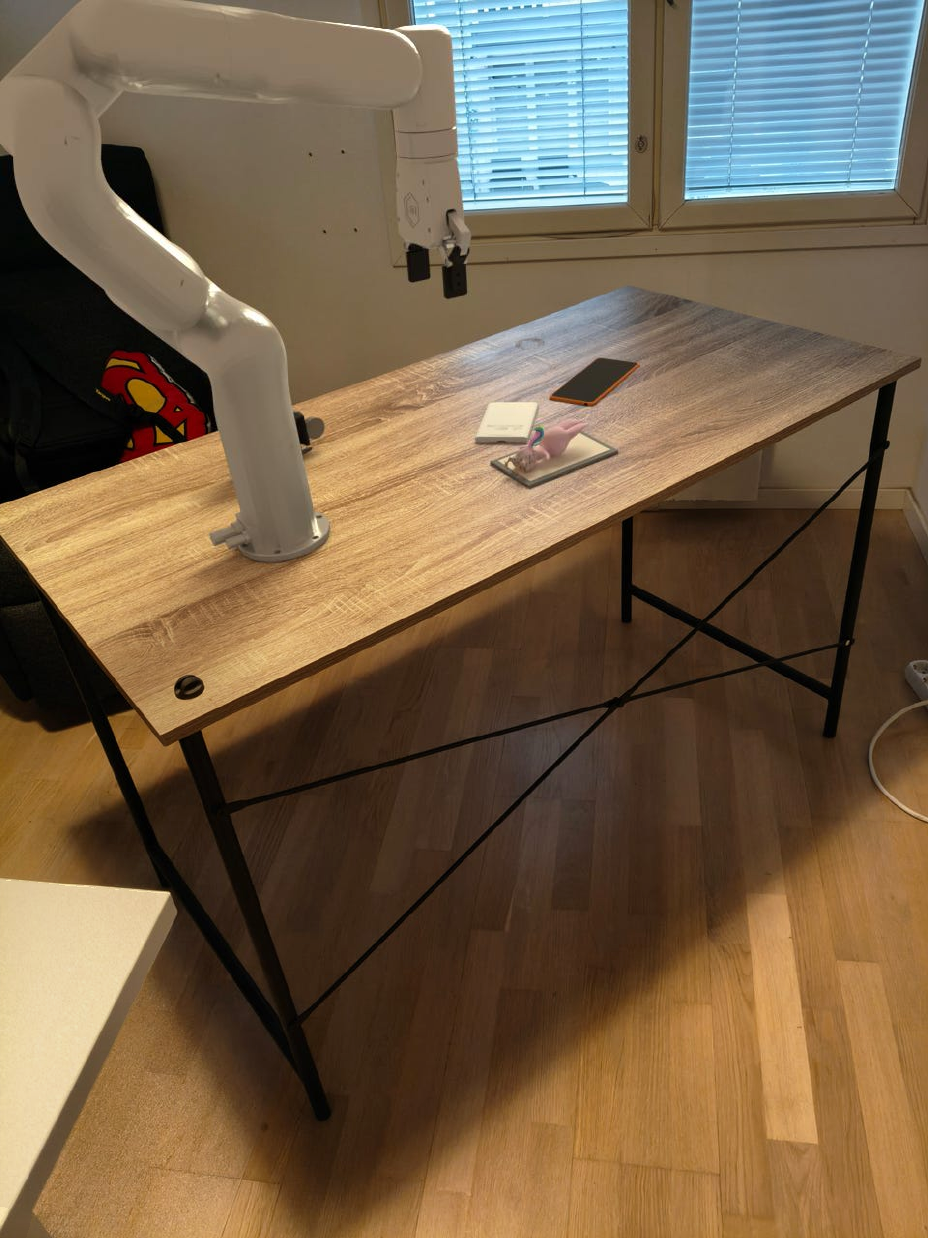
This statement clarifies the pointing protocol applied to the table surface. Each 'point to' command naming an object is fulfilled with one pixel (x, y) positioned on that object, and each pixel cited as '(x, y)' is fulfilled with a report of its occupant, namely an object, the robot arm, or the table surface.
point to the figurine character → (307, 429)
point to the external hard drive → (507, 422)
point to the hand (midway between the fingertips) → (437, 288)
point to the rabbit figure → (546, 444)
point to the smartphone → (594, 381)
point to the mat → (559, 460)
